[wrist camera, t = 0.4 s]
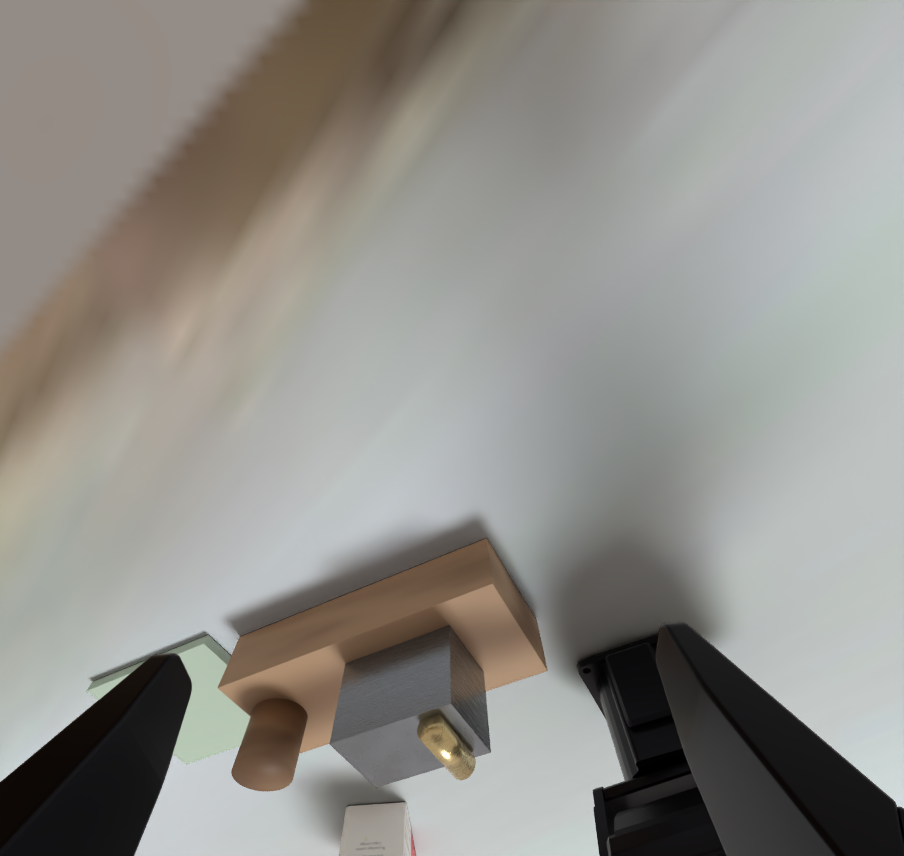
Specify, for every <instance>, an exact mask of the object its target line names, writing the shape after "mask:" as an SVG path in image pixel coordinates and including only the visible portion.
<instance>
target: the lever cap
mask: <svg viewBox="0 0 904 856" xmlns="http://www.w3.org/2000/svg"><path fill="white" fill-rule="evenodd" d="M329 744H330V745H331V746H332V747H333V748H334V749H335V750H336V751H337V752H338V753H339V754H340V755H342V756H343V757H344V758H345V759H346V760H347V761H348V762H349V763H350V764H351V765H352V766H353V767H354V768H356V769H357V770H358V771H359V772H360V773H361V774H362V775H363V776H364V777H365V778H366V779H367V780H368V781H370V782H371V783H372V784H373V785H374V786H375V787H379V786H383V785H386V784H389V783H392V782H396V781H399V780H402V779H406V778H409V777H412V776H415V775H419V774H422V773H425V772H428V771H432V770H435V769H438V768H442V767H446V769H447V770H448V771H449V772H450V773H451V774H452V775H453V776H454V777H455V778H456V779H458V780H465V779H467V778H468V777H469V776H470V775H471V774H472V773H473V771H474V768H475V763H476V761H475V757H477V756H481V755H484V754H487V753H491V749H490V738H489V726H488V714H487V703H486V691H485V679H484V671H483V670H482V669H481V667H480V666H479V665H478V663H477V662H476V660H475V659H474V658H473V656H472V655H471V654H470V652H469V651H468V650H467V648H466V647H465V645H464V644H463V643H462V641H461V640H460V639H459V637H458V636H457V634H456V633H455V632H454V630H453V629H452V628H451V626H450V625H448V626H445V627H442V628H440V629H437V630H434V631H431V632H429V633H426V634H423V635H421V636H418V637H415V638H412V639H410V640H407V641H404V642H402V643H399V644H396V645H393V646H391V647H388V648H385V649H383V650H380V651H377V652H374V653H372V654H369V655H366V656H364V657H361V658H358V659H355V660H353V661H350V662H347V663H345V668H344V673H343V678H342V683H341V688H340V693H339V698H338V703H337V708H336V713H335V718H334V723H333V728H332V733H331V738H330V743H329Z"/></svg>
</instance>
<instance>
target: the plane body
mask: <svg viewBox="0 0 904 856" xmlns="http://www.w3.org/2000/svg"><path fill="white" fill-rule="evenodd" d="M448 625H450V626H451V628H452V629H453V630H454V632H455V633H456V634H457V636H458V637H459V639H460V640H461V641H462V643H463V644H464V645H465V647H466V648H467V650H468V651H469V652H470V654H471V655H472V656H473V658H474V659H475V660H476V662H477V663H478V665H479V666H480V667H481V669H482V670H483V671H484V679H485V691H488V690H491V689H494V688H497V687H500V686H503V685H506V684H509V683H512V682H515V681H518V680H521V679H524V678H527V677H530V676H533V675H536V674H539V673H542V672H545V671H547V666H546V661H545V657H544V652H543V647H542V643H541V638H540V633H539V629H538V624H537V621H536V619H535V617H534V616H533V614H532V612H531V611H530V609H529V607H528V606H527V604H526V602H525V601H524V599H523V597H522V596H521V594H520V592H519V591H518V589H517V587H516V586H515V584H514V582H513V581H512V579H511V578H510V576H509V574H508V573H507V571H506V569H505V568H504V566H503V564H502V563H501V561H500V559H499V558H498V556H497V554H496V553H495V551H494V549H493V548H492V546H491V544H490V543H489V541H488V539H487V538H486V539H483V540H481V541H478V542H476V543H473V544H471V545H468V546H466V547H463V548H461V549H458V550H456V551H453V552H451V553H448V554H446V555H443V556H441V557H438V558H436V559H433V560H431V561H428V562H426V563H423V564H421V565H418V566H416V567H413V568H411V569H408V570H406V571H403V572H401V573H398V574H396V575H393V576H391V577H388V578H386V579H383V580H381V581H378V582H376V583H373V584H371V585H368V586H366V587H363V588H361V589H358V590H356V591H353V592H351V593H348V594H346V595H343V596H341V597H338V598H336V599H333V600H331V601H329V602H326V603H323V604H321V605H319V606H316V607H314V608H311V609H309V610H306V611H304V612H301V613H299V614H296V615H294V616H291V617H289V618H286V619H284V620H281V621H279V622H276V623H274V624H271V625H269V626H266V627H264V628H261V629H259V630H256V631H254V632H251V633H249V634H246V635H244V636H241V637H240V638H239V640H238V642H237V644H236V647H235V649H234V651H233V654H232V656H231V658H230V660H229V663H228V665H227V667H226V669H225V672H224V674H223V676H222V679H221V681H220V683H219V685H218V689H219V690H220V691H221V692H222V693H224V694H225V695H226V696H227V697H228V698H229V699H231V700H232V701H233V702H234V703H235V704H236V705H237V706H239V707H240V708H241V709H242V710H243V711H244V712H246V713H247V714H248V715H249V716H250V720H249V723H248V726H247V728H246V731H245V734H244V737H243V740H242V743H241V745H240V748H239V751H238V754H237V757H236V759H235V762H234V765H233V768H232V772H231V773H232V776H233V778H234V780H235V781H236V782H237V783H239V784H240V785H242V786H244V787H246V788H249V789H252V790H257V791H276V790H280V789H283V788H285V787H287V786H288V785H289V784H290V783H291V782H292V780H293V776H294V772H295V768H296V764H297V760H298V756H299V753H302V752H305V751H308V750H311V749H314V748H317V747H320V746H323V745H326V744H329V743H330V738H331V733H332V728H333V723H334V718H335V713H336V708H337V703H338V698H339V693H340V688H341V683H342V678H343V673H344V668H345V663H347V662H350V661H353V660H355V659H358V658H361V657H364V656H366V655H369V654H372V653H374V652H377V651H380V650H383V649H385V648H388V647H391V646H393V645H396V644H399V643H402V642H404V641H407V640H410V639H412V638H415V637H418V636H421V635H423V634H426V633H429V632H431V631H434V630H437V629H440V628H442V627H445V626H448Z"/></svg>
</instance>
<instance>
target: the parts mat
mask: <svg viewBox="0 0 904 856" xmlns="http://www.w3.org/2000/svg"><path fill="white" fill-rule="evenodd" d="M165 653H176V654H178V655H179V656H180V658H181V660H182V662H183V664H184V666H185V668H186V670H187V672H188V674H189V676H190V679H191V682H192V692H191V696H190V700H189V703H188V706H187V709H186V713H185V716H184V719H183V722H182V726H181V729H180V732H179V735H178V739H177V742H176V745H175V748H174V752H173V755H174V756H175V757H177V758H178V759H180V760H181V761H182V762H184V763H185V764H186V765H187V764H190V763H193V762H195V761H198V760H201V759H204V758H207V757H210V756H213V755H216V754H219V753H221V752H224V751H227V750H230V749H233V748H236V747H239V746H240V745H241V743H242V740H243V737H244V734H245V731H246V728H247V726H248V723H249V720H250V716H249V715H248V714H247V713H246V712H244V711H243V710H242V709H241V708H240V707H239V706H237V705H236V704H235V703H234V702H233V701H232V700H231V699H229V698H228V697H227V696H226V695H225V694H224V693H222V692H221V691H220V690H219V689H218V685H219V683H220V681H221V679H222V676H223V674H224V672H225V669H226V667H227V665H228V663H229V660H230V658H231V656H230V655H229V654H228V653H227V652H226V651H225V650H224V649H223V648H222V647H221V646H220V645H219V644H217V643H216V642H215V641H214V640H213V639H212V638H211V637H210V636H209V635H207V636H204V637H202V638H199V639H197V640H194V641H192V642H190V643H187V644H185V645H182V646H180V647H177V648H175V649H172V650H170V651H167V652H165ZM163 654H164V653H163ZM145 661H146V660H145ZM145 661H143V662H140V663H138V664H136V665H133V666H131V667H128V668H126V669H123V670H121V671H118V672H116V673H113V674H111V675H109V676H106V677H104V678H101V679H99V680H96V681H94V682H92V684H91V685H90V686H89V688H88V689H87V692H88V693H90V694H91V695H92V696H94V697H95V698H96V699H98V700H99V699H100V698H102V697H103V696H104V695H105V694H106V693H108V692H109V691H110V690H111V689H112V688H114V687H115V686H116V685H117V684H118V683H120V682H121V681H122V680H123V679H124V678H126V677H127V676H128V675H129V674H130V673H132V672H133V671H134V670H135V669H136V668H138V667H139V666H140V665H141V664H142V663H144V662H145Z"/></svg>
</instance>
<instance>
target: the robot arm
mask: <svg viewBox="0 0 904 856" xmlns="http://www.w3.org/2000/svg"><path fill="white" fill-rule="evenodd" d="M577 668H578V671H579V674H580V676H581V678H582V679H583V681H584V683H585V684H586V686H587V688H588V689H589V691H590V693H591V695H592V696H593V698H594V700H595V701H596V703H597V705H598V707H599V708H600V710H601V712H602V713H603V715H604V717H605V718H606V720H607V724H608V727H609V730H610V734H611V737H612V740H613V743H614V747H615V750H616V753H617V757H618V760H619V763H620V766H621V770H622V773H623V776H624V780H625V781H624V782H621V783H618V784H615V785H612V786H609V787H606V788H603V787H599V788H596V789H594V790H593V796H594V804H595V807H594V816H595V823H596V831H597V839H598V847H599V855H600V856H904V808H902V807H897V805H896V803H895V801H894V800H893V799H892V798H890V797H889V796H888V795H887V794H886V793H885V792H883V791H882V790H881V789H880V788H879V787H878V786H876V785H875V784H874V783H873V782H872V781H870V780H869V779H868V778H867V777H866V776H865V775H863V774H862V773H861V772H860V771H859V770H858V769H856V768H855V767H854V766H853V765H852V764H851V763H849V762H848V761H847V760H846V759H845V758H844V757H842V756H841V755H840V754H839V753H838V752H837V751H835V750H834V749H833V748H832V747H831V746H830V745H828V744H827V743H826V742H825V741H824V740H823V739H821V738H820V737H819V736H818V735H817V734H815V733H814V732H813V731H812V730H811V729H810V728H808V727H807V726H806V725H805V724H804V723H803V722H801V721H800V720H799V719H798V718H797V717H796V716H794V715H793V714H792V713H791V712H790V711H789V710H787V709H786V708H785V707H784V706H783V705H782V704H780V703H779V702H778V701H777V700H776V699H775V698H773V697H772V696H771V695H770V694H769V693H768V692H766V691H765V690H764V689H763V688H762V687H760V686H759V685H758V684H757V683H756V682H755V681H753V680H752V679H751V678H750V677H749V676H748V675H746V674H745V673H744V672H743V671H742V670H741V669H739V668H738V667H737V666H736V665H735V664H734V663H732V662H731V661H730V660H729V659H728V658H727V657H725V656H724V655H723V654H722V653H721V652H720V651H718V650H717V649H716V648H715V647H714V646H712V645H711V644H710V643H709V642H708V641H707V640H705V639H704V638H703V637H702V636H701V635H700V634H698V633H697V632H696V631H695V630H694V629H693V628H691V627H690V626H689V625H688V624H686V623H683V622H674V623H664V624H662V625H661V627H660V631H659V635H657V636H654V637H651V638H648V639H645V640H642V641H639V642H636V643H633V644H630V645H627V646H624V647H621V648H618V649H615V650H612V651H609V652H606V653H603V654H600V655H597V656H594V657H591V658H588V659H585V660H582V661H580V662H579V663H578V664H577ZM191 692H192V682H191V679H190V676H189V674H188V672H187V670H186V668H185V666H184V664H183V662H182V660H181V658H180V656H179V655H178V654H176V653H164V654H156V655H153V656H151V657H150V658H148V659H147V660H146V661H145V662H144V663H142V664H141V665H140V666H139V667H138V668H136V669H135V670H134V671H133V672H132V673H130V674H129V675H128V676H127V677H126V678H124V679H123V680H122V681H121V682H120V683H118V684H117V685H116V686H115V687H114V688H112V689H111V690H110V691H109V692H108V693H106V694H105V695H104V696H103V697H102V698H100V699H99V700H98V701H97V702H96V703H95V704H93V705H92V706H91V707H90V708H89V709H87V710H86V711H85V712H84V713H83V714H81V715H80V716H79V717H78V718H77V719H75V720H74V721H73V722H72V723H71V724H69V725H68V726H67V727H66V728H65V729H63V730H62V731H61V732H60V733H59V734H57V735H56V736H55V737H54V738H53V739H51V740H50V741H49V742H48V743H47V744H45V745H44V746H43V747H42V748H41V749H39V750H38V751H37V752H36V753H35V754H33V755H32V756H31V757H30V758H29V759H27V760H26V761H25V762H24V763H23V764H22V765H20V766H19V767H18V768H17V769H16V770H14V771H13V772H12V773H11V774H10V775H8V776H7V777H6V778H5V779H4V780H2V781H1V782H0V856H134V855H135V852H136V850H137V847H138V845H139V842H140V840H141V837H142V835H143V833H144V830H145V828H146V825H147V823H148V820H149V818H150V815H151V813H152V811H153V808H154V806H155V803H156V801H157V798H158V796H159V793H160V791H161V788H162V785H163V783H164V780H165V777H166V774H167V771H168V768H169V764H170V761H171V758H172V755H173V752H174V748H175V745H176V742H177V739H178V735H179V732H180V729H181V726H182V722H183V719H184V716H185V713H186V709H187V706H188V703H189V700H190V696H191Z"/></svg>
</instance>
